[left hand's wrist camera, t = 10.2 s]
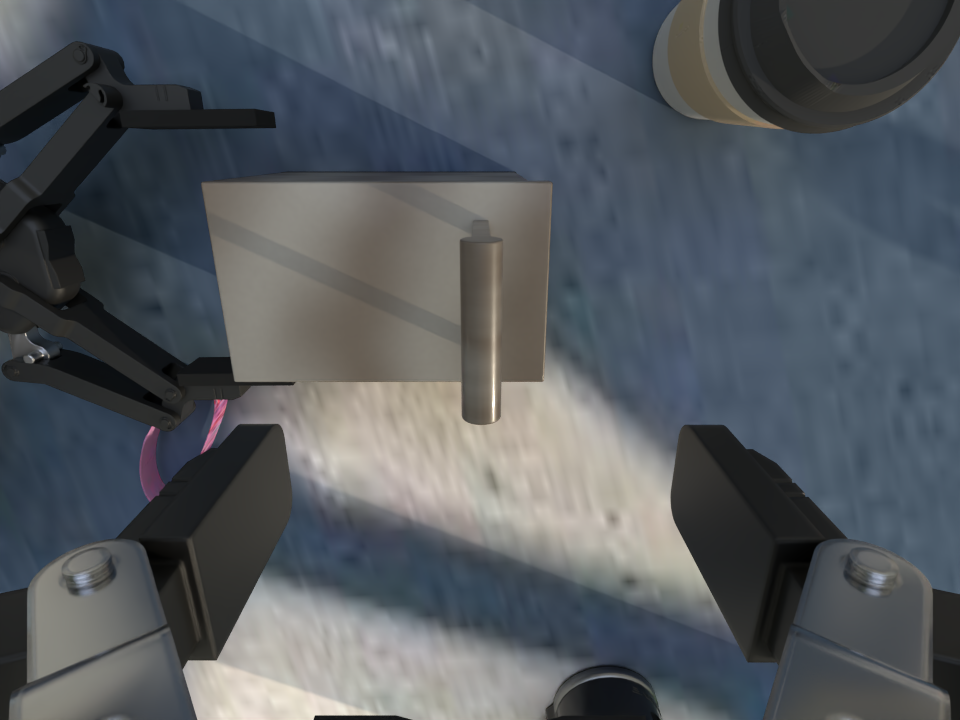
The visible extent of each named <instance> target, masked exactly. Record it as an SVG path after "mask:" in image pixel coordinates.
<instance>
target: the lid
mask: <svg viewBox="0 0 960 720" xmlns="http://www.w3.org/2000/svg"><path fill="white" fill-rule="evenodd" d="M201 186H202V192H203V198H204V204H205V210H206V216H207V222H208V228H209V234H210V239H211V245H212V251H213V257H214V263H215V269H216V275H217V281H218V287H219V293H220V299H221V305H222V310H223V316H224V322H225V328H226V334H227V340H228V346H229V352H230V358H231V364H232V370H233V376H234V381H235V382H461V387H462V417H463V419H464V420H465V421H466V422H468V423H471V424H476V425H486V424H491V423H494V422H496V421H498V420H499V419H500V417H501V382H543V381H544V366H545V343H546V321H547V298H548V275H549V252H550V230H551V207H552V182H550V181H206V182H202V183H201Z"/></svg>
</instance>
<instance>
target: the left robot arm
mask: <svg viewBox="0 0 960 720" xmlns="http://www.w3.org/2000/svg"><path fill="white" fill-rule="evenodd" d="M291 507H292V488H291V481H290V473H289V466H288V459H287V452H286V445H285V438H284V433H283V430H282V428H281V426H280V425H279V424H240V425H238V426H237V427H236V428H235V429H234V430H233V431H232V432H231V433H230V435H229V436H228V437H227V438H226V439H225V440H224V441H223V443H222V444H221V445H220V446H219V447H218V448H211V449H209V450H207V451H205V452H204V453H202V454H200V455H199V456H197V457H195V458H194V459H192V460H190V461H188V462H187V463H186V464H185V465H184V466H183V467H182V468H181V469H180V470H179V472H178V473H177V474H176V475H175V476H174V477H173V478H172V482H168V483H167V484H166V485H165V486H164V488H163V489H162V490H161V491H160V492H159V496H155V497H154V498H153V499H152V500H151V501H150V502H149V504H148V505H147V506H146V507H145V508H144V509H143V510H142V511H141V512H140V513H139V514H138V515H137V516H136V517H135V518H134V520H133V521H132V522H131V523H130V524H129V525H128V526H127V527H126V528H125V529H124V530H123V531H122V532H121V533H120V534H119V536H118V537H117V538H116V539H108V540H102V541H97V542H93V543H90V544H87V545H84V546H81V547H78V548H76V549H74V550H71V551H69V552H67V553H65V554H63V555H62V556H60V557H58V558H56V559H55V560H53V561H52V562H50V563H49V564H48V565H46V566H45V567H44V568H43V569H42V570H41V571H40V572H39V573H38V574H37V575H36V576H35V577H34V578H33V580H32V581H31V583H30V585H29V587H28V588H24V589H20V590H15V591H10V592H5V593H1V594H0V720H197V717H196V714H195V711H194V707H193V704H192V701H191V697H190V694H189V690H188V687H187V684H186V680H185V677H184V674H183V668H184V666H185V664H186V663H187V661H188V660H217V658H218V657H219V655H220V653H221V651H222V649H223V647H224V645H225V643H226V641H227V639H228V637H229V635H230V633H231V631H232V629H233V627H234V626H235V624H236V622H237V620H238V618H239V616H240V614H241V612H242V610H243V608H244V606H245V604H246V602H247V600H248V598H249V596H250V595H251V593H252V591H253V589H254V587H255V585H256V583H257V581H258V579H259V577H260V575H261V573H262V571H263V569H264V567H265V566H266V564H267V562H268V560H269V558H270V556H271V554H272V552H273V550H274V548H275V546H276V544H277V542H278V540H279V538H280V536H281V535H282V533H283V531H284V529H285V527H286V525H287V523H288V520H289V517H290V513H291ZM671 509H672V515H673V519H674V521H675V524H676V526H677V528H678V530H679V532H680V534H681V536H682V537H683V539H684V541H685V543H686V545H687V547H688V549H689V551H690V553H691V555H692V557H693V559H694V560H695V562H696V564H697V566H698V568H699V570H700V572H701V574H702V576H703V578H704V580H705V582H706V583H707V585H708V587H709V589H710V591H711V593H712V595H713V597H714V599H715V601H716V603H717V604H718V606H719V608H720V610H721V612H722V614H723V616H724V618H725V620H726V622H727V624H728V626H729V627H730V629H731V631H732V633H733V635H734V637H735V639H736V641H737V643H738V645H739V647H740V648H741V650H742V652H743V654H744V656H745V658H746V660H747V662H777V664H778V665H779V667H778V670H777V674H776V677H775V680H774V684H773V687H772V690H771V694H770V697H769V701H768V704H767V707H766V711H765V714H764V717H763V720H960V594H955V593H951V592H946V591H941V590H937V589H933V588H932V587H931V585H930V583H929V581H928V580H927V578H926V577H925V576H924V575H923V574H922V573H921V572H920V571H919V570H918V569H917V568H916V567H915V566H914V565H912V564H911V563H910V562H908V561H907V560H905V559H904V558H902V557H900V556H898V555H897V554H895V553H893V552H891V551H889V550H886V549H884V548H882V547H879V546H876V545H873V544H870V543H867V542H863V541H858V540H852V539H848V538H847V537H846V536H845V535H844V534H843V533H842V532H841V531H840V530H839V529H838V528H837V527H836V526H835V525H834V524H833V523H832V522H831V520H830V519H829V518H828V517H827V516H826V515H825V514H824V513H823V512H822V511H821V510H820V509H819V508H818V507H817V506H816V505H815V504H814V502H813V501H812V500H811V499H810V498H809V497H805V493H804V492H803V491H802V490H801V489H800V488H799V487H798V486H797V485H796V483H792V479H791V478H790V477H789V476H788V475H787V474H786V473H785V472H784V471H783V470H782V469H781V468H780V467H779V465H778V464H777V463H775V462H773V461H772V460H770V459H768V458H767V457H765V456H763V455H761V454H760V453H758V452H756V451H755V450H753V449H745V447H744V446H743V445H742V444H741V443H740V442H739V441H738V440H737V438H736V437H735V436H734V435H733V434H732V433H731V432H730V431H729V429H728V428H727V427H726V426H724V425H684V426H683V427H682V429H681V431H680V434H679V439H678V446H677V453H676V460H675V467H674V474H673V481H672V488H671ZM546 717H547V720H662V718H661V714H660V710H659V707H658V702H657V699H656V696H655V693H654V690H653V688H652V686H651V685H650V684H649V682H648V681H647V680H646V679H645V678H643V677H642V676H641V675H639V674H637V673H635V672H633V671H631V670H628V669H624V668H619V667H598V668H593V669H589V670H585V671H583V672H580V673H578V674H576V675H574V676H573V677H571V678H570V679H568V680H567V681H566V682H565V683H564V684H563V685H562V686H561V687H560V688H559V690H558V692H557V693H556V696H555V698H554V704H552V705H551V706H550V707H548V708H547V709H546ZM314 720H411V719H407V718H403V717H400V716H315V717H314Z"/></svg>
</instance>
